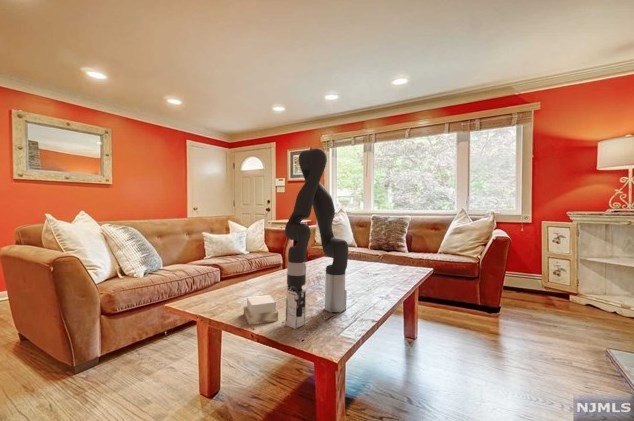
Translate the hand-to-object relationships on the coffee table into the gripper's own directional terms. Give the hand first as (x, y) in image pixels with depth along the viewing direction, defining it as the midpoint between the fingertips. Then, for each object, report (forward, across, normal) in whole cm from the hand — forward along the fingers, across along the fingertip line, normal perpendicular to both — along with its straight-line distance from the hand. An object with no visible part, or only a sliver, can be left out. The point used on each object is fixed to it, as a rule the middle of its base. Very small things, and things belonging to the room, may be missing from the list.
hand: (295, 312), depth 114 cm
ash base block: (+6, +13, +11) cm, 18 cm away
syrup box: (+5, 0, 0) cm, 5 cm away
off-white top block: (+2, +13, +11) cm, 17 cm away
